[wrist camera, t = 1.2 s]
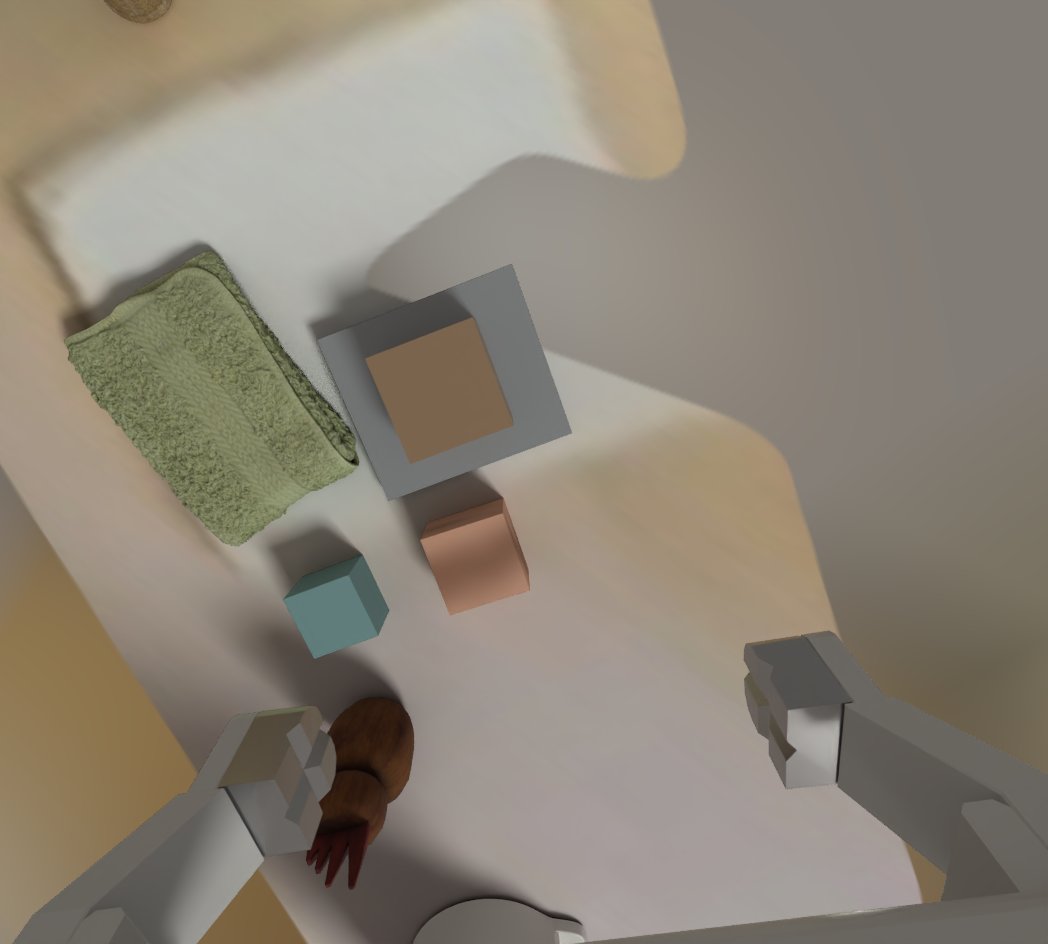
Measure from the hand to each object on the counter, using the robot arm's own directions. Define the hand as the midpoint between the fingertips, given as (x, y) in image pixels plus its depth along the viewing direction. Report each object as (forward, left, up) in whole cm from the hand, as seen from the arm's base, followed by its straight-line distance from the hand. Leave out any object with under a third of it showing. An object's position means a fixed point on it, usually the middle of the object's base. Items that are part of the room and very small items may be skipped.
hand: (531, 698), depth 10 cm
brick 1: (-7, +17, -31) cm, 36 cm away
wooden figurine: (-18, +19, -31) cm, 40 cm away
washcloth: (+9, +19, -31) cm, 38 cm away
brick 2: (-7, +6, -31) cm, 32 cm away
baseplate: (+5, +3, -31) cm, 31 cm away
